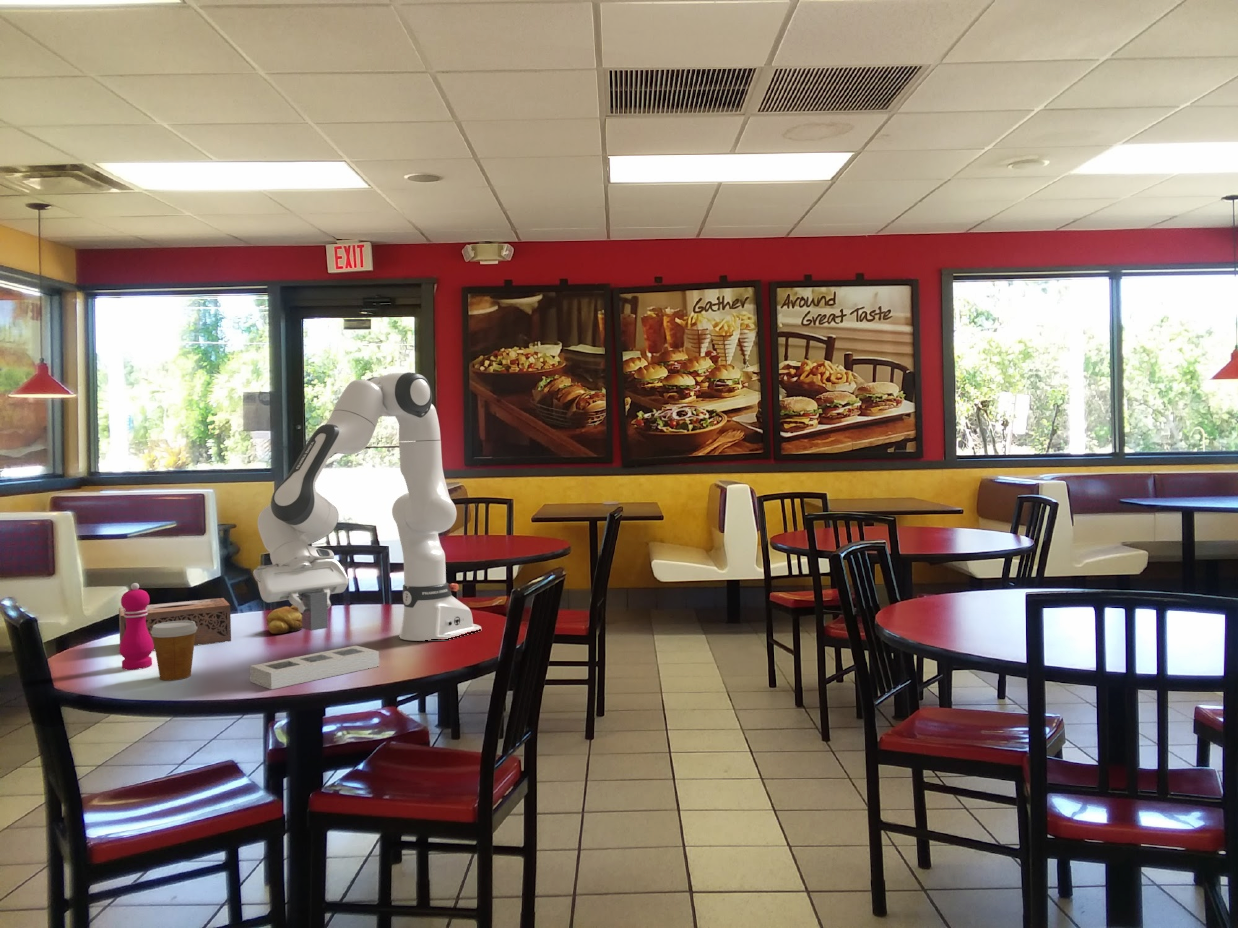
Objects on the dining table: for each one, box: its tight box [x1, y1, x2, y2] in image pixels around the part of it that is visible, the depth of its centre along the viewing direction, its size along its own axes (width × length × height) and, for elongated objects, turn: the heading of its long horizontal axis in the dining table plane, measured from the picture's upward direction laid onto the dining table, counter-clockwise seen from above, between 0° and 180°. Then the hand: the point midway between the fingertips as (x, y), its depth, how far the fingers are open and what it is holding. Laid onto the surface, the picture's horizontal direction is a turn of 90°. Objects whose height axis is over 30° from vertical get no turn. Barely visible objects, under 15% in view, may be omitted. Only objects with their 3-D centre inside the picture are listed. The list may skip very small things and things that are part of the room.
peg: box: [301, 591, 329, 632], centre depth 202 cm, size 4×4×8 cm
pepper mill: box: [118, 582, 154, 670], centre depth 212 cm, size 7×7×20 cm
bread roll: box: [266, 604, 303, 634], centre depth 252 cm, size 13×10×8 cm
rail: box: [249, 645, 380, 690], centre depth 202 cm, size 26×10×4 cm, turn 137°
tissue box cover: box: [118, 597, 232, 649], centre depth 239 cm, size 26×14×10 cm, turn 121°
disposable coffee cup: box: [151, 621, 198, 681], centre depth 201 cm, size 10×10×12 cm
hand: (316, 609), depth 201 cm, fingers closed on peg, 4 cm apart
